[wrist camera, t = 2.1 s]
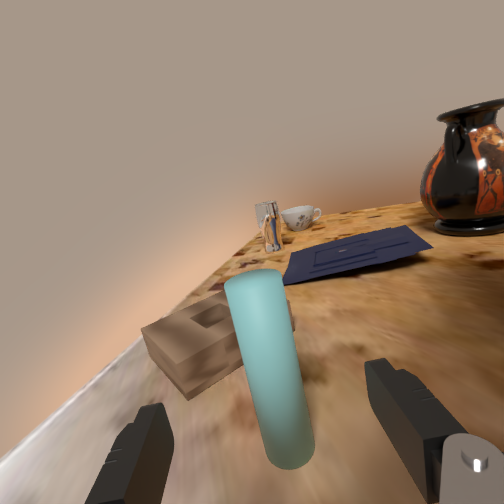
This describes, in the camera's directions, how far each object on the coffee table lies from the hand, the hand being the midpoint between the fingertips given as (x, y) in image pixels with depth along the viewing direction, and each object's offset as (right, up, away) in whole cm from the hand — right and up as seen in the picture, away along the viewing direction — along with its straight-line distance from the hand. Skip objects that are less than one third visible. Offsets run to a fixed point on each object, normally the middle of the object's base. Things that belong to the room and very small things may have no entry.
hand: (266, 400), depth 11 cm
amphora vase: (+54, +11, +61) cm, 82 cm away
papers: (+22, +3, +57) cm, 62 cm away
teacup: (+19, +15, +102) cm, 105 cm away
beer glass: (+7, +6, +80) cm, 80 cm away
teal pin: (+3, -11, +15) cm, 19 cm away
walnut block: (-5, -8, +33) cm, 35 cm away
